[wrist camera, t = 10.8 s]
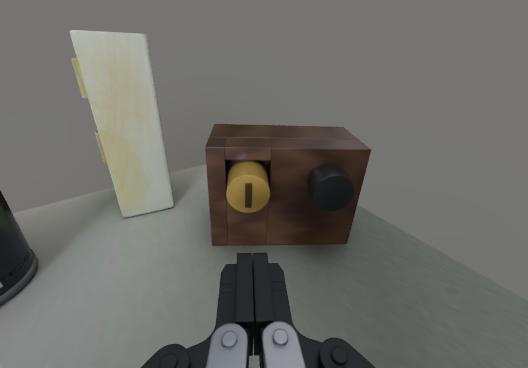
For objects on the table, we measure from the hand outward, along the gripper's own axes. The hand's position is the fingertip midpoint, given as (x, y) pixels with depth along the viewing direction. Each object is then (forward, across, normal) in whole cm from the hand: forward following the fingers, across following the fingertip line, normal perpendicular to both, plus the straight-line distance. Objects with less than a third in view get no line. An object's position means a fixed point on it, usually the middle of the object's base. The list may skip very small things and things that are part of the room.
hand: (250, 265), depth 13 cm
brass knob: (+12, 0, +4) cm, 13 cm away
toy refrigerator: (+23, +15, +11) cm, 30 cm away
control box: (+16, -4, +11) cm, 20 cm away
